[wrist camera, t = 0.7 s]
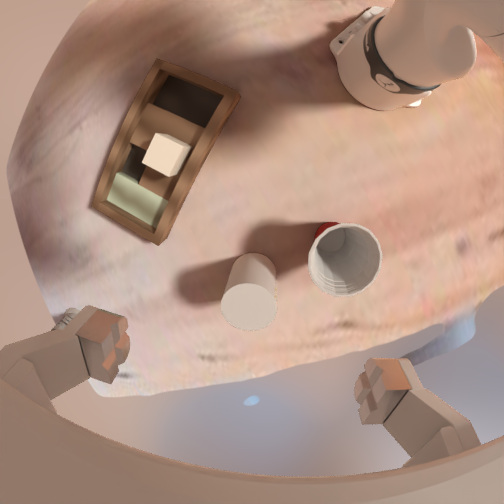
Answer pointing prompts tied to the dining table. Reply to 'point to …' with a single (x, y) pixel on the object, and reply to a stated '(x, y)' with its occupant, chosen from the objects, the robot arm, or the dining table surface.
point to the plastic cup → (344, 259)
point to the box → (139, 139)
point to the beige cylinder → (250, 293)
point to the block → (166, 154)
